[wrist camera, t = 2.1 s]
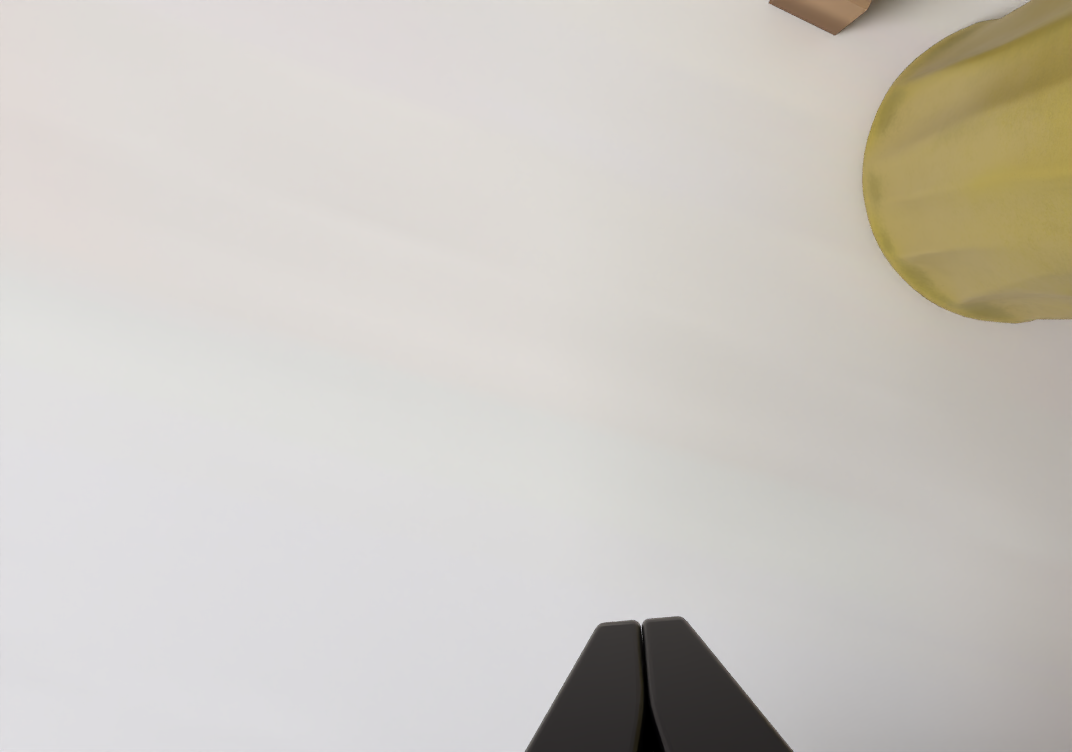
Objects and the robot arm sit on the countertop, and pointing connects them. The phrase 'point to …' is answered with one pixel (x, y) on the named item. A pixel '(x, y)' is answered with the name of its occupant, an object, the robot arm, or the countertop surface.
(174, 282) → the countertop surface
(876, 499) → the countertop surface
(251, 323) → the countertop surface
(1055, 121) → the vase
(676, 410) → the countertop surface
